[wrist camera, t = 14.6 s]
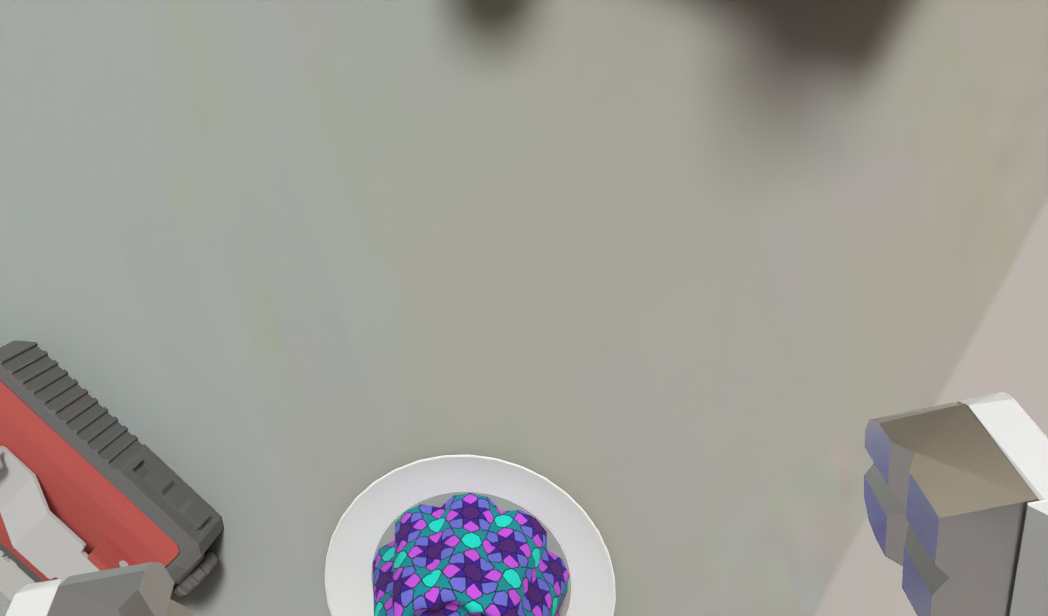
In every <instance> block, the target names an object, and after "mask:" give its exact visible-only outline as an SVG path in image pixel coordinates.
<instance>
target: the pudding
mask: <svg viewBox="0 0 1048 616" xmlns="http://www.w3.org/2000/svg"><path fill="white" fill-rule="evenodd" d="M451 492H477V493H485V494H490V495H494V496H497V497H500V498H504V499H507V500H509V501H511V502H513V503H515V504H517V505H519V506H521V507H523V508H524V509H526V510H527V511H529V512H530V513H532V514H533V515H534V516H536V517H537V518H538V519H539V520H540V521H541V522H542V523H543V524H544V525H545V526H546V527H547V528H548V529H549V530H550V531H551V532H552V534H553V535H554V537H555V538H556V540H557V541H558V542H559V544H560V546H561V548H562V550H563V552H564V554H565V557H566V559H567V562H568V566H569V570H570V574H571V598H570V604H569V608H568V611H567V614H566V616H613V614H614V608H615V601H616V593H615V576H614V571H613V567H612V563H611V559H610V555H609V552H608V550H607V548H606V546H605V543H604V541H603V539H602V537H601V535H600V532H599V531H598V529H597V528H596V526H595V525H594V523H593V522H592V521H591V519H590V518H589V516H588V515H587V513H586V512H585V511H584V510H583V509H582V508H581V507H580V506H579V505H578V504H577V503H576V502H575V501H574V500H573V499H572V498H571V497H570V496H569V495H568V494H567V493H566V492H565V491H564V490H562V489H561V488H559V487H558V486H557V485H555V484H554V483H552V482H551V481H550V480H548V479H547V478H545V477H543V476H541V475H539V474H537V473H535V472H533V471H531V470H529V469H527V468H525V467H523V466H520V465H517V464H514V463H510V462H507V461H504V460H501V459H497V458H491V457H484V456H476V455H443V456H438V457H433V458H428V459H423V460H418V461H415V462H413V463H410V464H407V465H405V466H402V467H400V468H397V469H394V470H393V471H391V472H389V473H388V474H386V475H384V476H383V477H381V478H380V479H378V480H376V481H375V482H373V483H372V484H371V485H370V486H369V487H368V488H366V489H365V490H364V491H363V492H362V493H361V494H360V495H359V496H357V497H356V498H355V500H354V501H353V502H352V504H351V505H350V506H349V508H348V509H347V510H346V511H345V513H344V514H343V515H342V517H341V519H340V521H339V523H338V525H337V527H336V529H335V531H334V533H333V535H332V538H331V541H330V545H329V549H328V553H327V557H326V566H325V589H326V596H327V604H328V607H329V610H330V613H331V616H559V613H558V608H559V606H560V604H561V602H562V600H563V598H564V596H565V594H566V593H567V591H568V578H569V574H568V572H567V569H566V567H565V564H564V562H563V560H562V559H560V558H559V557H557V556H556V555H554V554H553V553H551V552H550V551H548V550H547V534H546V531H545V530H544V528H543V527H542V526H541V525H540V523H539V522H538V521H537V520H536V519H535V518H534V517H532V516H530V515H528V514H526V513H525V512H523V511H521V510H516V511H500V510H499V509H498V507H497V506H496V505H495V504H494V503H493V502H492V501H491V500H490V499H489V498H488V497H484V496H480V495H476V494H472V493H469V494H462V495H454V496H453V497H452V498H451V499H449V500H448V501H447V502H446V503H445V504H444V505H443V506H442V507H441V508H438V507H433V506H427V505H419V506H417V507H415V508H412V509H410V510H408V511H406V512H405V513H404V514H403V515H402V516H401V518H400V519H399V520H398V521H397V522H396V525H395V541H393V542H391V543H389V544H387V545H385V546H383V547H382V548H380V549H379V550H378V553H377V555H376V557H375V560H374V562H373V590H372V582H371V572H372V561H373V558H374V554H375V550H376V547H377V545H378V543H379V541H380V539H381V537H382V535H383V533H384V532H385V531H386V529H387V528H388V527H389V526H390V524H391V523H392V522H393V521H394V520H395V519H396V518H397V517H398V516H399V515H400V514H402V513H403V512H404V511H405V510H407V509H408V508H410V507H412V506H413V505H415V504H417V503H418V502H420V501H423V500H425V499H428V498H431V497H433V496H436V495H441V494H446V493H451ZM373 592H374V595H373Z"/></svg>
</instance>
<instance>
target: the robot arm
mask: <svg viewBox="0 0 1048 616" xmlns="http://www.w3.org/2000/svg"><path fill="white" fill-rule="evenodd" d="M865 448H866V449H867V451H868V453H869V455H870V456H871V458H872V460H873V462H874V464H873V465H872V466H871V468H870V469H869V470H868V471H867V473H866V474H865V475H864V499H865V503H866V508H867V513H868V518H869V521H870V524H871V527H872V529H873V532H874V535H875V537H876V540H877V541H878V543H879V545H880V547H881V549H882V551H883V553H884V555H885V556H886V557H888V558H889V559H891V560H893V561H895V562H896V563H898V564H900V565H901V566H903V580H902V582H903V583H902V588H903V590H904V592H905V593H906V595H907V597H908V599H909V601H910V603H911V605H912V606H913V608H914V610H915V612H916V614H917V615H918V616H1048V438H1047V437H1046V435H1045V434H1044V433H1043V432H1042V431H1041V430H1040V428H1039V427H1038V426H1037V425H1036V424H1035V423H1034V422H1033V420H1032V419H1031V418H1030V417H1029V416H1028V414H1027V413H1026V412H1025V411H1024V410H1023V409H1022V407H1021V406H1020V405H1019V404H1018V403H1017V402H1016V400H1015V399H1014V398H1013V397H1012V396H1010V395H1008V394H1006V393H1004V392H1000V393H995V394H990V395H985V396H981V397H976V398H971V399H967V400H962V401H958V402H957V403H949V404H944V405H939V406H934V407H929V408H924V409H920V410H915V411H910V412H905V413H900V414H895V415H891V416H886V417H881V418H876V419H871V420H869V422H868V425H867V427H866V431H865ZM173 586H174V581H173V580H172V578H171V576H170V575H169V573H168V572H167V570H166V569H165V567H164V565H163V564H162V563H156V562H149V563H143V564H137V565H131V566H125V567H120V568H114V569H108V570H102V571H96V572H91V573H85V574H79V575H73V576H69V577H68V578H62V579H56V580H50V581H44V582H38V583H32V584H26V585H25V586H24V587H23V588H22V589H20V590H19V591H18V592H17V593H16V594H15V595H14V597H13V599H12V601H11V604H10V606H9V608H8V610H7V613H6V615H5V616H193V615H192V613H191V612H190V610H189V608H187V607H185V606H183V605H181V604H179V603H177V602H175V601H174V600H172V599H170V597H171V593H172V589H173Z"/></svg>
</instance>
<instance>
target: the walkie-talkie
mask: <svg viewBox="0 0 1048 616" xmlns="http://www.w3.org/2000/svg"><path fill="white" fill-rule="evenodd" d="M47 354H48V353H47V352H46V351H45V350H44V351H42V350H41V349H40V348H39V347H37V343H36V342H25V341H13V342H11V343H9V344H7V345H5V346H3V347H1V348H0V590H1V594H2V596H3V597H4V598H5V599H6V600H8V601H9V602H10V603H11V601H12V599H13V597H14V595H15V594H16V593H17V592H18V591H19V590H20V589H22V588H23V587H24V586H25V585H26V584H32V583H38V582H44V581H50V580H56V579H62V578H68V577H69V576H73V575H79V574H85V573H91V572H96V571H102V570H108V569H114V568H120V567H125V566H131V565H137V564H143V563H149V562H156V563H162V564H163V565H164V567H165V569H166V570H167V572H168V573H169V575H170V576H171V578H172V580H173V581H174V583H175V584H176V585H175V586H174V590H173V592H174V593H175V594H177V595H178V596H179V597H184V596H186V595H188V594H189V593H190V592H191V591H192V590H193V589H194V588H195V587H196V586H197V585H198V584H199V583H200V582H201V581H202V580H203V579H204V578H205V577H206V576H207V575H208V574H209V573H210V572H211V571H212V569H213V568H214V567H215V565H216V564H217V562H218V557H217V556H216V555H215V554H214V553H213V552H208V553H206V554H205V555H204V553H205V551H206V550H207V549H208V548H209V546H210V545H211V544H212V543H213V541H214V540H215V539H216V537H217V536H218V535H219V534H220V532H221V531H222V530H223V529H224V525H223V521H222V517H221V516H220V515H219V514H218V513H217V512H216V511H215V510H214V509H213V508H212V507H211V506H210V505H209V504H208V503H207V502H206V501H204V500H203V499H202V498H201V497H200V496H199V495H198V494H197V493H196V492H195V491H194V490H193V489H192V488H191V487H190V486H188V485H187V484H186V483H185V482H184V481H183V480H182V479H181V478H180V477H179V476H178V475H177V474H176V473H175V472H174V471H173V470H171V469H170V468H169V467H168V466H167V465H166V464H165V463H164V462H163V461H162V460H161V459H160V458H159V457H158V456H157V455H156V454H154V453H153V452H152V451H151V450H150V449H149V448H148V447H147V446H146V445H145V444H144V445H142V444H141V443H140V442H139V441H137V437H136V436H135V435H134V436H132V435H131V434H130V433H129V432H128V431H127V429H128V428H127V427H126V426H122V425H120V424H119V423H118V422H117V420H118V419H117V418H116V417H112V416H111V415H110V414H109V413H108V412H107V411H108V409H107V408H105V407H104V408H102V407H101V406H100V405H99V404H98V403H97V402H98V400H97V399H96V398H92V397H91V396H90V395H89V394H87V393H88V391H87V390H86V389H82V388H81V387H80V386H79V385H78V384H77V383H78V381H77V380H76V379H74V380H73V379H72V378H70V377H69V376H68V375H67V373H68V372H67V371H66V370H62V369H61V368H60V367H59V366H58V365H57V364H58V362H57V361H56V360H54V361H52V360H51V359H50V358H49V357H48V356H47Z"/></svg>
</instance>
